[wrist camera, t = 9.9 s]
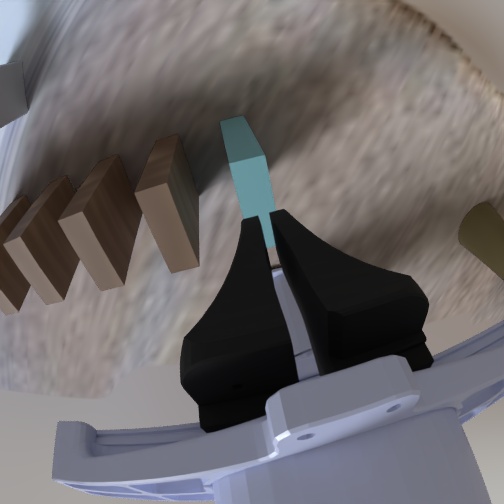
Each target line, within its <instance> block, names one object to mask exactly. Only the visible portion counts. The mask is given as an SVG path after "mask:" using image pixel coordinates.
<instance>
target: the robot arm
mask: <svg viewBox="0 0 504 504" xmlns="http://www.w3.org/2000/svg"><path fill="white" fill-rule="evenodd" d="M269 215H270V220H271V225H272V230H273V235H274V240H275V245H276V250H277V254H278V257H279V261H280V264H281V268H277V269H273V270H271V265H270V261H269V256H268V252H267V247H266V243H265V238H264V234H263V229H262V225H261V222H260V219H259V216H258V215H257V216H253V217H249V218H245V219H243V220H242V222H241V232H240V238H239V242H238V246H237V250H236V253H235V256H234V259H233V262H232V265H231V268H230V270H229V273H228V275H227V277H226V279H225V281H224V283H223V285H222V287H221V289H220V291H219V293H218V294H217V296H216V298H215V299H214V301H213V302H212V304H211V305H210V307H209V308H208V310H207V311H206V312H205V314H204V315H203V317H202V318H201V319H200V320H199V322H198V323H197V324H196V325H195V326H194V327H193V328H192V329H191V331H190V332H189V333H188V334H187V335H186V336H185V337H184V340H183V345H182V350H181V357H180V379H181V385H182V386H183V388H184V390H185V391H186V392H187V393H188V394H189V395H190V396H191V397H192V398H193V400H194V401H195V402H196V403H197V404H198V407H199V420H200V422H198V423H190V424H182V425H173V426H163V427H152V428H139V429H120V430H96V429H95V428H93V427H92V426H90V425H89V424H87V423H84V422H79V421H59V422H58V424H57V431H56V439H55V447H54V458H53V469H52V479H53V481H56V482H59V483H61V484H63V485H66V486H69V487H72V488H74V489H77V490H80V491H83V492H86V493H89V494H92V495H98V496H107V497H116V498H127V499H140V500H156V501H214V502H215V504H491V500H490V498H489V495H488V492H487V489H486V486H485V483H484V480H483V477H482V475H481V472H480V469H479V467H478V464H477V462H476V459H475V456H474V454H473V451H472V449H471V447H470V444H469V442H468V439H467V437H466V435H465V432H464V430H463V428H462V424H464V423H465V422H467V421H468V420H470V419H472V418H473V417H475V416H476V415H478V414H479V413H481V412H482V411H484V410H485V409H487V408H488V407H490V406H491V405H492V404H494V403H495V402H497V401H498V400H500V399H501V398H502V397H504V320H503V321H501V322H499V323H497V324H496V325H494V326H492V327H490V328H488V329H487V330H485V331H483V332H481V333H479V334H477V335H475V336H473V337H472V338H469V339H467V340H466V341H463V342H462V343H460V344H457V345H455V346H453V347H451V348H449V349H447V350H445V351H443V352H441V353H438V354H436V355H434V356H432V355H431V353H430V351H429V350H428V348H427V346H426V344H425V342H426V336H425V334H424V332H423V331H422V328H423V325H424V322H425V319H426V316H427V313H428V308H429V302H428V298H427V297H426V295H425V294H424V292H423V291H422V290H421V288H420V287H419V285H418V284H417V283H416V282H415V281H414V280H413V279H412V277H411V276H409V275H405V274H401V273H397V272H392V271H388V270H385V269H382V268H379V267H376V266H373V265H370V264H368V263H365V262H362V261H360V260H358V259H356V258H353V257H351V256H349V255H347V254H345V253H343V252H341V251H339V250H337V249H336V248H334V247H332V246H331V245H329V244H327V243H326V242H324V241H323V240H321V239H320V238H319V237H317V236H316V235H314V234H313V233H312V232H311V231H309V230H308V229H307V228H305V227H304V226H303V225H302V224H301V223H299V222H298V221H297V220H296V219H295V218H294V217H293V216H292V215H291V214H289V213H288V212H287V211H286V210H285V209H281V210H277V211H273V212H269Z"/></svg>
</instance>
